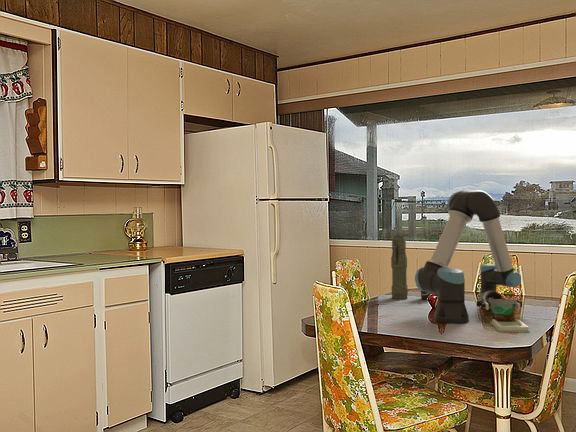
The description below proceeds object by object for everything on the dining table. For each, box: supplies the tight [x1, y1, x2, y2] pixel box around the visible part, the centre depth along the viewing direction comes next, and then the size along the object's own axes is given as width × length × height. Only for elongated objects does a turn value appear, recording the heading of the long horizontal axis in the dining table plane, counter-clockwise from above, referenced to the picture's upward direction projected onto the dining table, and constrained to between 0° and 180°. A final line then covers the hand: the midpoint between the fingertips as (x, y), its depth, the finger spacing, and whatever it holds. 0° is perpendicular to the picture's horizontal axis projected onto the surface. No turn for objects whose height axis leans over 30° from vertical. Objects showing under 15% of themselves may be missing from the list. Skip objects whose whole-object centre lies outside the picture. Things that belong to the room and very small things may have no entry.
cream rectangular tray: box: [490, 318, 530, 333], centre depth 249 cm, size 12×16×2 cm
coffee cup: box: [420, 290, 432, 301], centre depth 325 cm, size 10×10×15 cm
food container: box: [488, 297, 518, 322], centre depth 264 cm, size 12×6×10 cm, turn 62°
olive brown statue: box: [390, 235, 409, 301], centre depth 328 cm, size 9×12×35 cm
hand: (503, 306), depth 263 cm, fingers open, 13 cm apart
